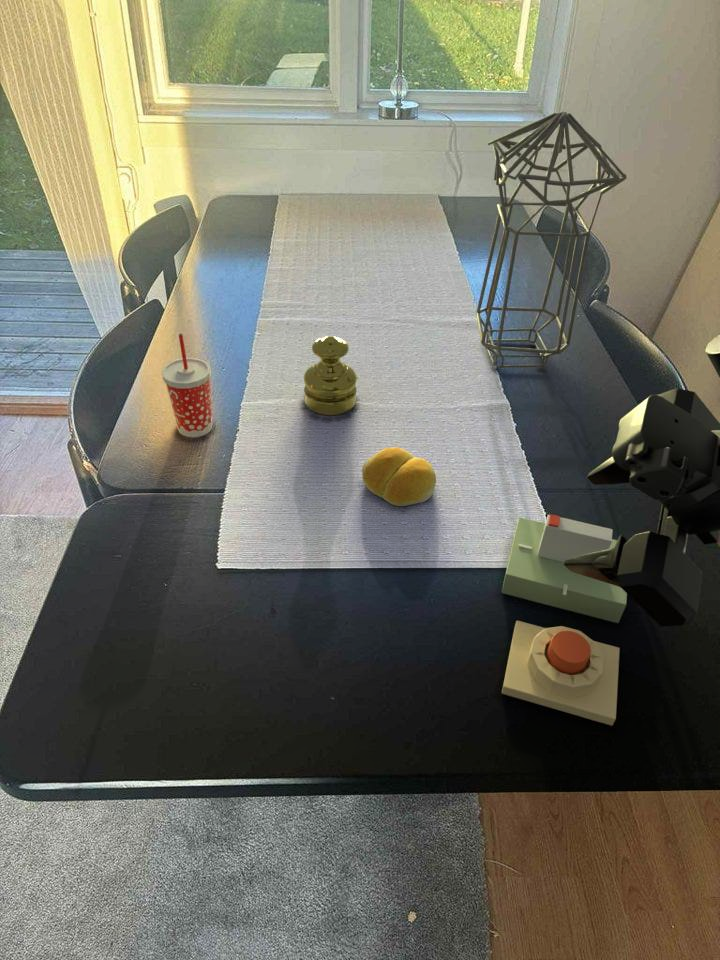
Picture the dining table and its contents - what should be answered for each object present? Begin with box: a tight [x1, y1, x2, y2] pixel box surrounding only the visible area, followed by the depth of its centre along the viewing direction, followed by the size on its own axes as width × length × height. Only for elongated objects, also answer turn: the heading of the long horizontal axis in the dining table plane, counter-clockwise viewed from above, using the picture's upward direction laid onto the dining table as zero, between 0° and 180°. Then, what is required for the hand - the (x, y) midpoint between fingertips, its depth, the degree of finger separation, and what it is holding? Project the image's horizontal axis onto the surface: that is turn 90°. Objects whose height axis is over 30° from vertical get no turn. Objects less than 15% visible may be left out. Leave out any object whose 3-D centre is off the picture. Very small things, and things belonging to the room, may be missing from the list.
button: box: [547, 631, 591, 674], centre depth 64 cm, size 4×4×2 cm
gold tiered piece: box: [303, 335, 358, 416], centre depth 96 cm, size 7×8×10 cm
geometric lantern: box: [475, 111, 628, 369], centre depth 99 cm, size 16×16×35 cm
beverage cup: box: [161, 333, 214, 438], centre depth 90 cm, size 6×6×14 cm
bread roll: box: [361, 446, 437, 507], centre depth 85 cm, size 8×9×4 cm
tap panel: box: [501, 516, 628, 624], centre depth 75 cm, size 12×11×3 cm
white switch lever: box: [538, 513, 614, 562], centre depth 72 cm, size 6×2×5 cm, turn 72°
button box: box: [501, 620, 621, 727], centre depth 66 cm, size 10×8×3 cm
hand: (579, 521), depth 59 cm, fingers open, 9 cm apart
